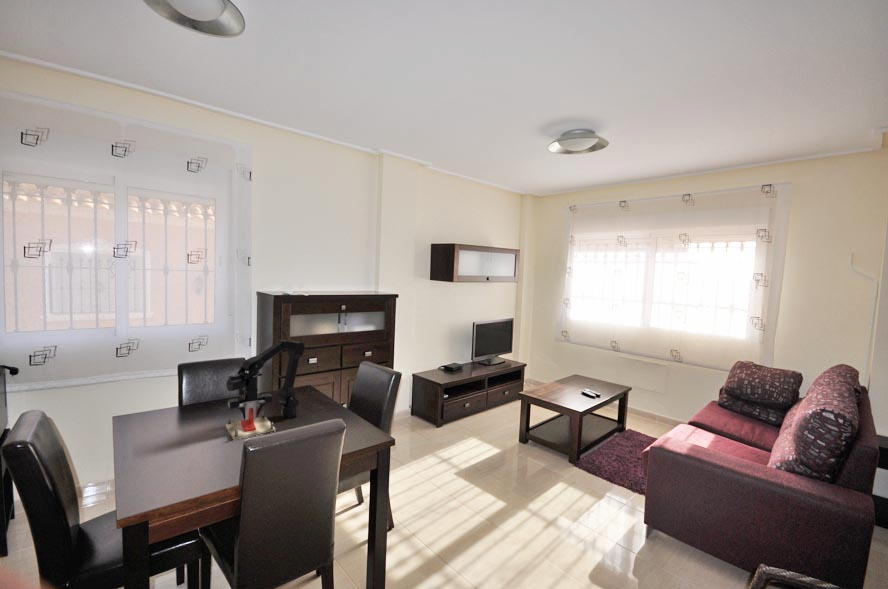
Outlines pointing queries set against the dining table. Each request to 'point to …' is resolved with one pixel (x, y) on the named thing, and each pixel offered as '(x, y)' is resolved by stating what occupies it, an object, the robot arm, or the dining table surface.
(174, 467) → the dining table surface
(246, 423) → the bracket
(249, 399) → the robot arm
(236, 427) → the peg board
